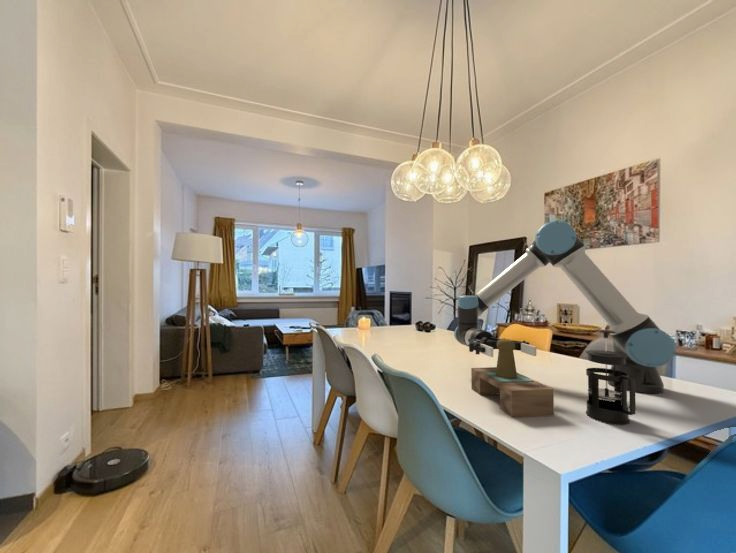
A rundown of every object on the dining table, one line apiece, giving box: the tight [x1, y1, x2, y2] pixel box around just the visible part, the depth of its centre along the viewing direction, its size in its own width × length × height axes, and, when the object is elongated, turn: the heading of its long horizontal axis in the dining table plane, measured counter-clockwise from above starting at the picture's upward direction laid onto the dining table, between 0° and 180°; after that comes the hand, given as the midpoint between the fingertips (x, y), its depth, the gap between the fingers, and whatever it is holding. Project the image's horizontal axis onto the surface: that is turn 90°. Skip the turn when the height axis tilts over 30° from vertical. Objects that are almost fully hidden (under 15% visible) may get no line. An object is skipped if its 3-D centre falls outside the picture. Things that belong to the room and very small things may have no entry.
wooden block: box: [470, 366, 555, 418], centre depth 99 cm, size 24×12×7 cm, turn 8°
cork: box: [496, 338, 518, 378], centre depth 99 cm, size 6×6×11 cm
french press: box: [585, 329, 637, 426], centre depth 86 cm, size 12×9×23 cm
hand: (513, 351), depth 96 cm, fingers open, 13 cm apart
